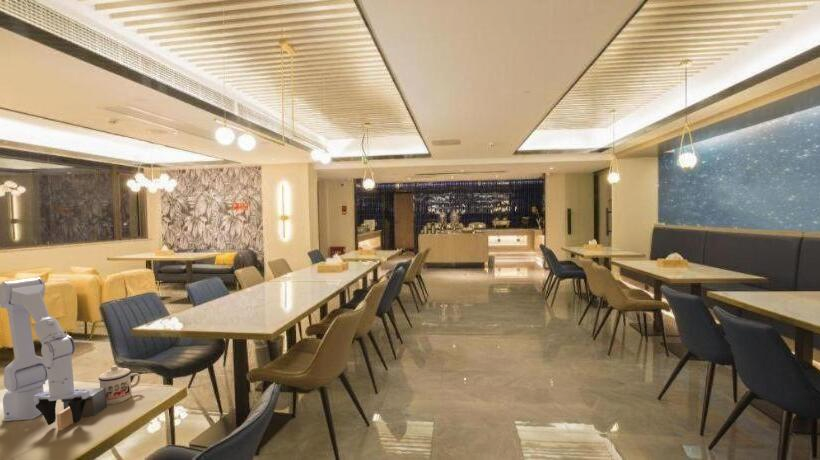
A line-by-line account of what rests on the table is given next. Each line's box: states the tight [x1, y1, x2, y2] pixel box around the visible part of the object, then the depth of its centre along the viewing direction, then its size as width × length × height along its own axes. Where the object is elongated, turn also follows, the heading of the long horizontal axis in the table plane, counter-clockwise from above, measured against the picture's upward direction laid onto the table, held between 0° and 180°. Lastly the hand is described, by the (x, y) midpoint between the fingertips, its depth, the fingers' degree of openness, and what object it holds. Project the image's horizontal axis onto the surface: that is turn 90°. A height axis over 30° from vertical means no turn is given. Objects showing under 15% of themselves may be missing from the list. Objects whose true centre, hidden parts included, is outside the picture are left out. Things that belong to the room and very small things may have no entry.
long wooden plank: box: [56, 407, 83, 432], centre depth 130 cm, size 1×12×5 cm, turn 4°
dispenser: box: [60, 387, 108, 418], centre depth 135 cm, size 9×7×7 cm
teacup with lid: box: [98, 364, 141, 406], centre depth 145 cm, size 12×9×12 cm
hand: (64, 422), depth 126 cm, fingers open, 7 cm apart
